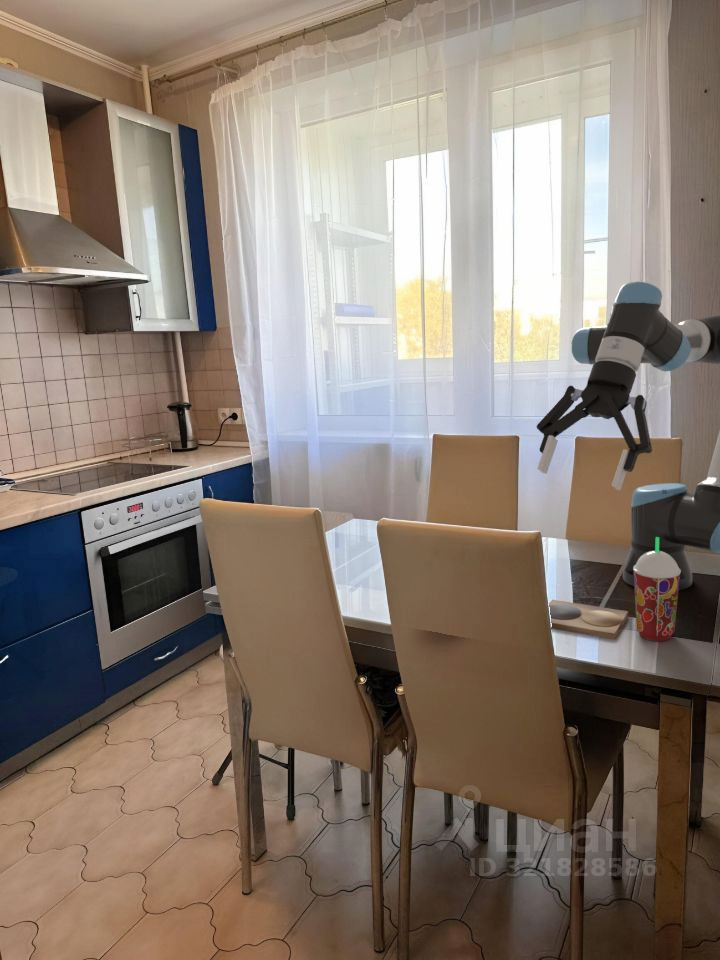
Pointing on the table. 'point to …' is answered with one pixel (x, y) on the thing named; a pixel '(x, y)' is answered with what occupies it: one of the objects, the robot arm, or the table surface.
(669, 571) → the smoothie
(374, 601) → the table surface
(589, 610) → the coaster board
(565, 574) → the table surface
